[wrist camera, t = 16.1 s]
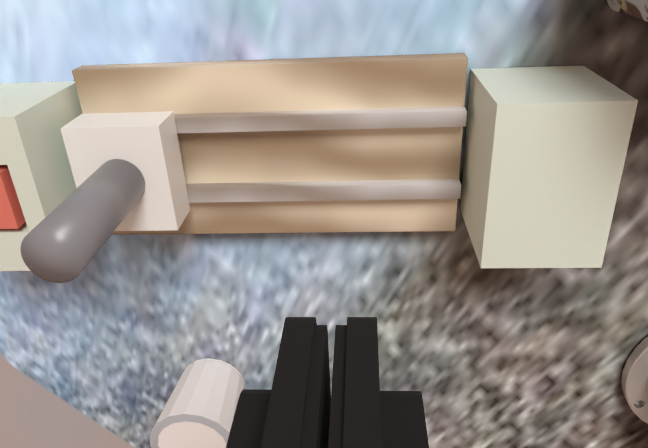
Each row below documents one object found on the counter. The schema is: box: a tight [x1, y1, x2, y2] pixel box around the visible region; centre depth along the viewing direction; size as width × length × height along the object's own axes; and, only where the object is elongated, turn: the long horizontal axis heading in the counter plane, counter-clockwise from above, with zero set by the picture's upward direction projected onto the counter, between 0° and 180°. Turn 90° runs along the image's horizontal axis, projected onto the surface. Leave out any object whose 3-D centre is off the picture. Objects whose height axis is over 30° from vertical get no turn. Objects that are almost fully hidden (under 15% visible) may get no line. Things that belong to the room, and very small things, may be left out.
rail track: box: [72, 53, 468, 234], centre depth 38 cm, size 12×25×2 cm, turn 93°
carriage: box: [20, 111, 190, 283], centre depth 33 cm, size 7×6×12 cm
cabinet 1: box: [0, 81, 83, 271], centre depth 37 cm, size 10×7×8 cm
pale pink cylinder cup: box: [150, 358, 244, 448], centre depth 47 cm, size 7×7×7 cm
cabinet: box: [460, 66, 638, 268], centre depth 35 cm, size 10×7×8 cm
